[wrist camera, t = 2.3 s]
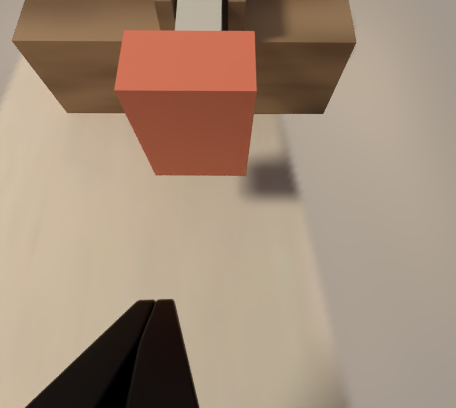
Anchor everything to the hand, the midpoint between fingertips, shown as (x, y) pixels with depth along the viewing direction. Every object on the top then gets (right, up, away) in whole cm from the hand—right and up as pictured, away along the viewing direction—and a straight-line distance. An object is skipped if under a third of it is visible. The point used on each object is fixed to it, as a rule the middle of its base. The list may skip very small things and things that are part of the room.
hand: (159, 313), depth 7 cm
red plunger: (0, +10, +10) cm, 14 cm away
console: (-1, +13, +16) cm, 20 cm away
